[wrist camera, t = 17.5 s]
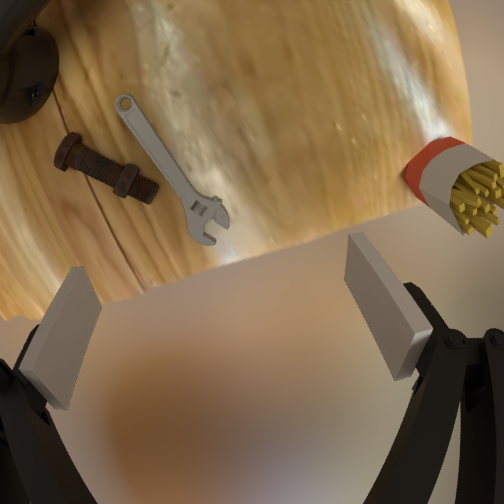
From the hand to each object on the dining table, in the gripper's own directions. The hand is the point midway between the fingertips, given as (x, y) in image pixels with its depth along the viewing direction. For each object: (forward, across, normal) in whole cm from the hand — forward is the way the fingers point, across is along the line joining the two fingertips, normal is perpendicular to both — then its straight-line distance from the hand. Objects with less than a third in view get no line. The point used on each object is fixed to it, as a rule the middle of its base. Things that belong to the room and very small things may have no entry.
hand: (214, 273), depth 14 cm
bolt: (+29, -15, -1) cm, 33 cm away
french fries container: (+29, +32, -4) cm, 43 cm away
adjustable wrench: (+29, -6, -2) cm, 30 cm away
